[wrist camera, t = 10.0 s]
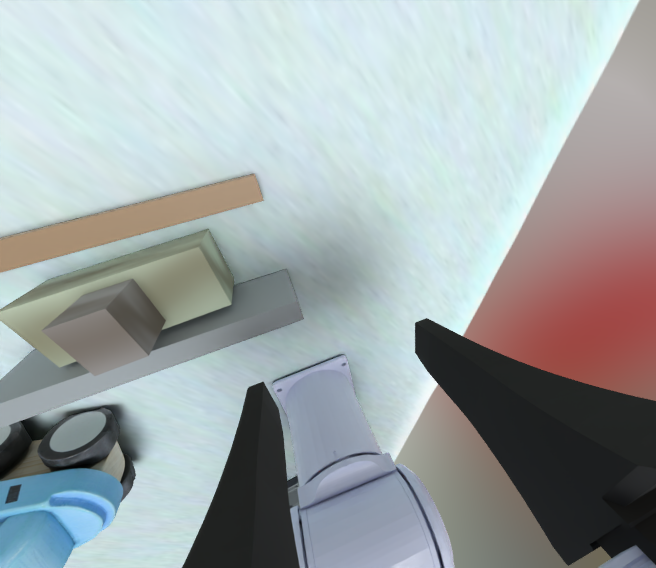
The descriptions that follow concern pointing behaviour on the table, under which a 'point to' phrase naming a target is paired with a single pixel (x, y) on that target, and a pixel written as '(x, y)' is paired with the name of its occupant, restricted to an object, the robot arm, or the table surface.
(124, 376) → the grey and tan bars
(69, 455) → the toy excavator
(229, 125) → the table surface
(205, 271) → the beige block with knob
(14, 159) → the table surface
